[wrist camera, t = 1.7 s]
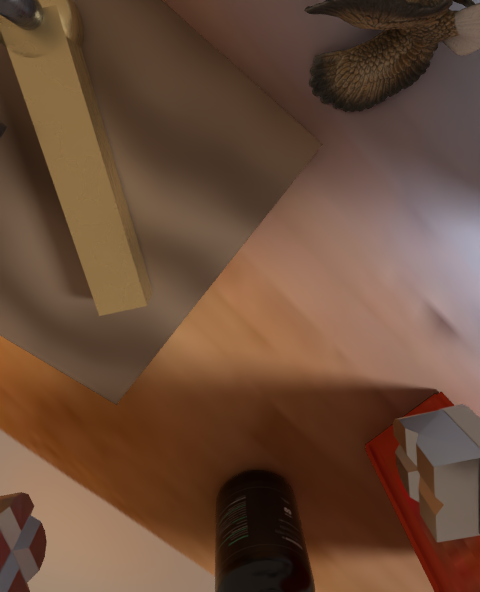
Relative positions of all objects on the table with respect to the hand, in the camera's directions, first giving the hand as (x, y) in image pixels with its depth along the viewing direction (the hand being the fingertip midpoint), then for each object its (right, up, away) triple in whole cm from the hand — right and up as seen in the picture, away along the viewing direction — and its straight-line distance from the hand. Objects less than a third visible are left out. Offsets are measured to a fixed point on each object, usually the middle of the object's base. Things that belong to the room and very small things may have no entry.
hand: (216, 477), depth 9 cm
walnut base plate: (-10, +11, +18) cm, 23 cm away
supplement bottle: (+2, -14, +27) cm, 30 cm away
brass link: (-9, +12, +16) cm, 22 cm away
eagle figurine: (+9, +20, +16) cm, 27 cm away
